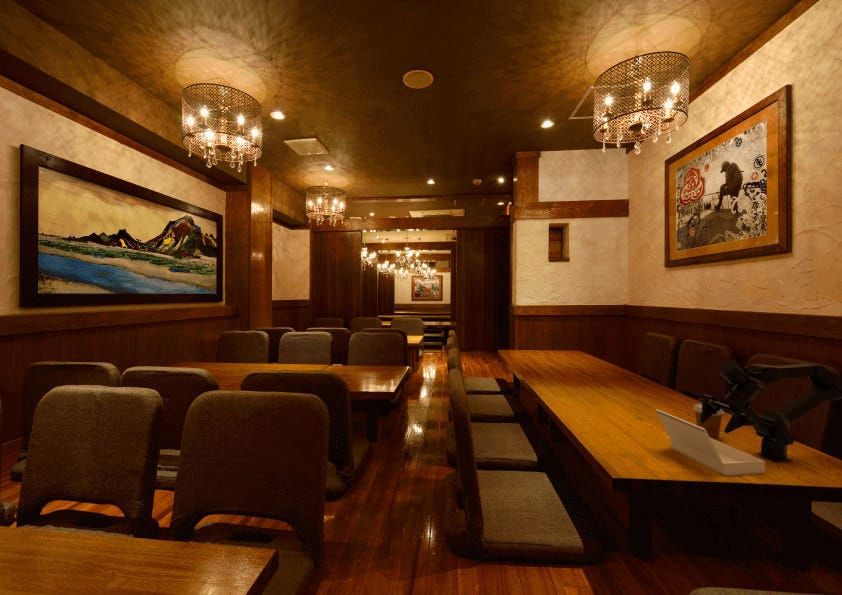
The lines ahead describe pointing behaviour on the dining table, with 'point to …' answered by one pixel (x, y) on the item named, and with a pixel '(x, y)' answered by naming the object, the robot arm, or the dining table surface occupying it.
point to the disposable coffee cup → (709, 422)
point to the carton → (723, 459)
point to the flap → (688, 434)
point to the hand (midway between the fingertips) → (712, 427)
